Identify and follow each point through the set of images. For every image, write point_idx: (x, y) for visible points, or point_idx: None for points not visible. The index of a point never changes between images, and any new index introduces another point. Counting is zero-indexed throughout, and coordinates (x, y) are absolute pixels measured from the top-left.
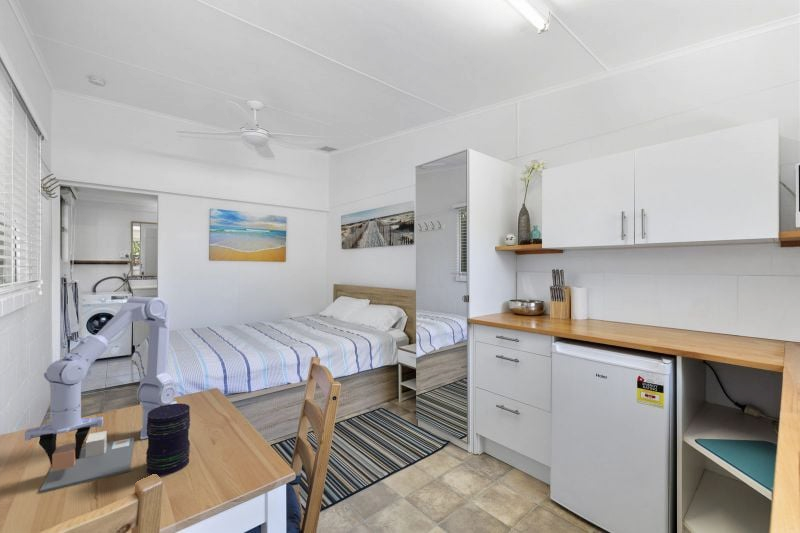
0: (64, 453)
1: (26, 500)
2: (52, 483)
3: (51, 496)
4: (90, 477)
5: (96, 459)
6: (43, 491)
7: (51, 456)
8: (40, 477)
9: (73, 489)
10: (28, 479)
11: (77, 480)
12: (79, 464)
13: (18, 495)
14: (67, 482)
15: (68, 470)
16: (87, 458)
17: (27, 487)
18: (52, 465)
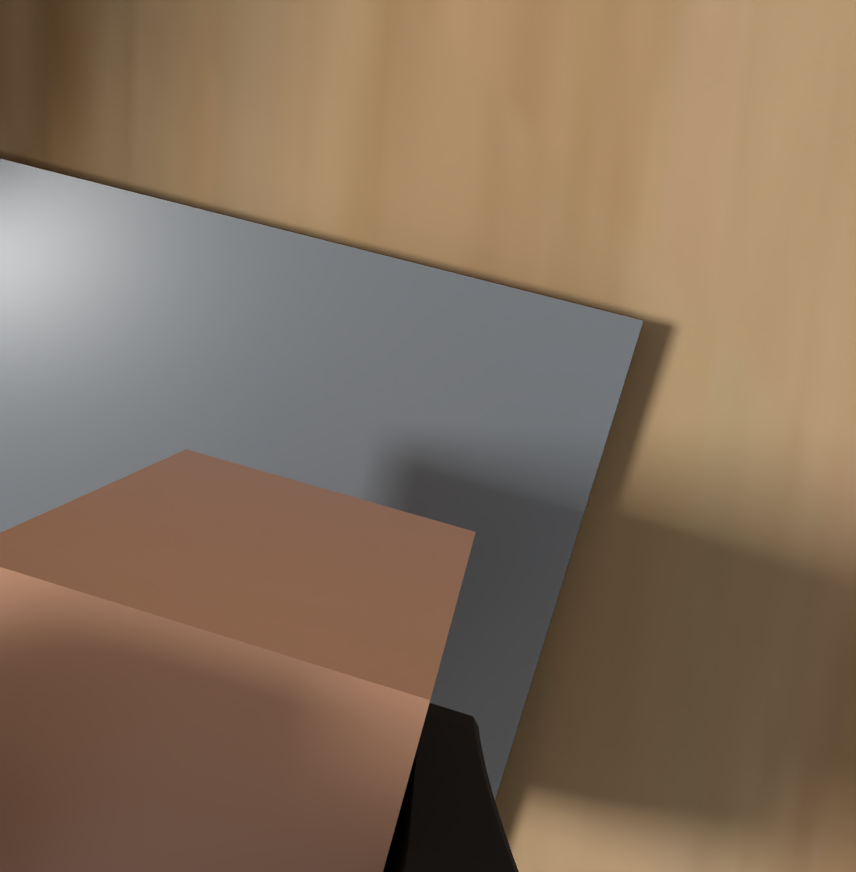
0: (169, 610)
1: (793, 228)
2: (490, 422)
3: (529, 92)
4: (86, 214)
5: None
6: (599, 309)
7: (448, 806)
8: (584, 785)
9: (291, 89)
10: (699, 842)
11: (226, 255)
12: None
13: (851, 472)
14: (333, 293)
15: None
16: None
17: (735, 624)
18: (459, 572)
